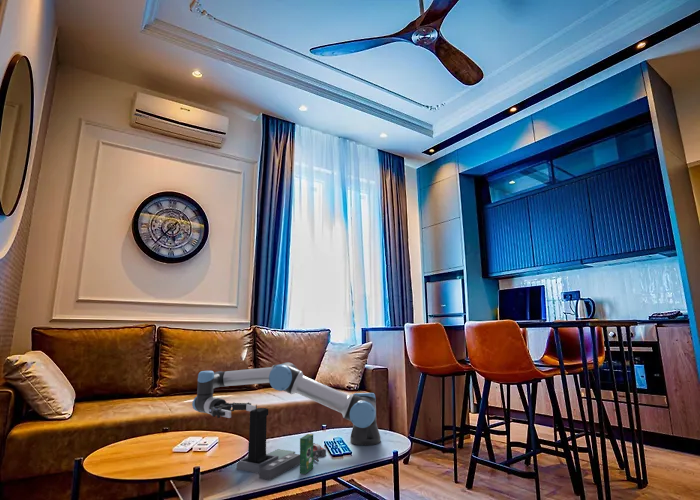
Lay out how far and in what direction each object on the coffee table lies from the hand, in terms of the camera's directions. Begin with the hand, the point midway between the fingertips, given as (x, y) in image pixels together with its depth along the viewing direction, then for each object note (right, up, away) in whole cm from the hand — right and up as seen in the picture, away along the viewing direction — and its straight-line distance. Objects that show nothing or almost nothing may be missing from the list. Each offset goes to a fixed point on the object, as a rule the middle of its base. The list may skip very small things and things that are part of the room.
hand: (243, 411), depth 172 cm
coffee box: (+30, -17, -17) cm, 38 cm away
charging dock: (+12, -18, -12) cm, 25 cm away
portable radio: (+9, -19, -10) cm, 23 cm away
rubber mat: (+15, -21, +3) cm, 26 cm away
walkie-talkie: (+32, -21, +2) cm, 38 cm away
